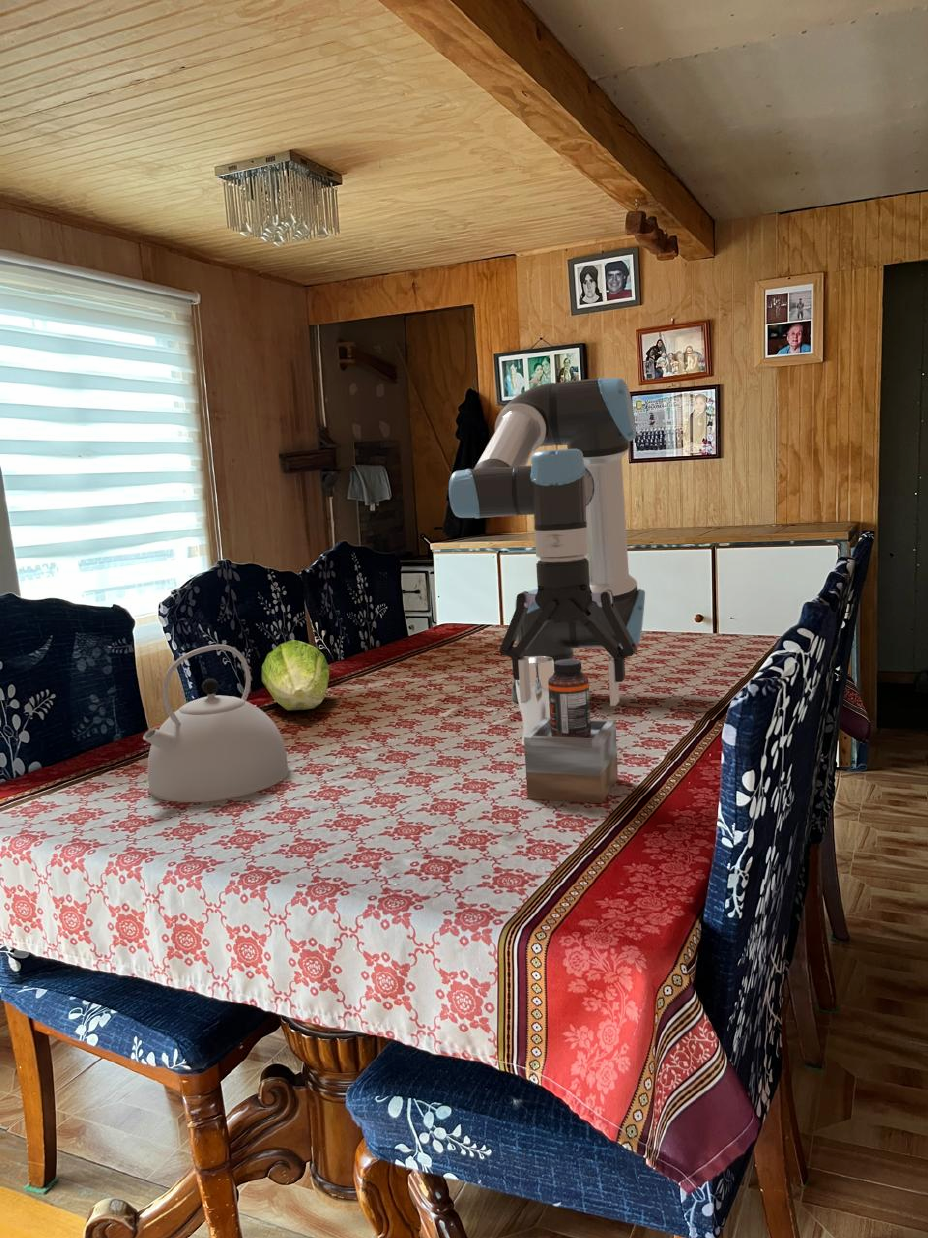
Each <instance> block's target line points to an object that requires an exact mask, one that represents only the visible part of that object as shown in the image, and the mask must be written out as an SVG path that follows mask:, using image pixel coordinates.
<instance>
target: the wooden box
mask: <svg viewBox="0 0 928 1238" xmlns="http://www.w3.org/2000/svg"><path fill="white" fill-rule="evenodd" d="M616 725H617V724H616V720H615V719H599V718H597V719H592V718H591V734H590V735H589V736H588V737H586V738H577V737H553V736H552V735H551V726H550V718H544V719H543V720H542V721H541V722H540V723H539V724H538V725H537V726H536V727H535V728H533V729H532V730H531V731H530V732H529V733H528V734H527V735H526V736H525V737H524V763H525V764H524V765H525V766H524V767H525V776H526V777H525V781H526V782H525V783H526V798H527V799H529V800H532V799H534V800H547V801H549V800H550V801H562V802H563V801H564V802H575V803H590V804H591V803H592V804H602V803H603V802H604V801H605V799H606V797H607V796H608V794H609V793H610V792H611V790H612V789H613V787H614V785H615V784H616V782H617V781H618V780H619V774H618V773H619V772H618V771H619V770H618V751H617V750H618V749H617V746H618V745H617V726H616Z"/></svg>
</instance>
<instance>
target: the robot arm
mask: <svg viewBox="0 0 928 1238" xmlns="http://www.w3.org/2000/svg"><path fill="white" fill-rule="evenodd" d="M630 392H631V391H630V389H629V386H628V384H627V383H626V381H625V380H624V379H622V378H619V377H603V378H602V377H599V378H590V379H589V378H588V379H579V380H570V381H563V382H549V383H548V382H547V383H544V384H543V383H542V384H540V385H536V386H534V387H531V388H529V389H527V390H525V391H523V392H522V393H520V394H518V395H516V396H515V397H514V398H513V399H512V400H510V401H509V402H508V403H507V404H506V405H505V406H504V407H503V408H502V409H501V410H500V412H499V414H498V415H497V417H496V420H495V423H494V433H493V435H492V436H491V439H490V440H489V442H488V443H487V445H486V447H485V450H484V451H483V453H482V454H481V456H480V458H479V460H478V461H477V463H476V464H475V467H473V468H466V469H462V470H456V471H454V472H453V473H452V474H451V476H450V479H449V481H448V498H449V503H450V508H451V511H452V513H453V515H454V516H455V517H458V518H461V519H465V518H466V519H473V518H474V519H476V520H477V519H481V518H494V517H495V518H496V517H497V518H498V517H499V518H500V517H512V516H513V517H514V516H529V515H530V516H532V515H533V520H534V522H533V523H534V525H533V526H534V542H535V543H534V544H535V556H536V558H539V560H538V561H537V562H536V582H537V588H535V589H532V590H528V591H526V590H524V591H522V592H520V593H518V594H517V595H516V598H515V603H514V604H515V611H514V613H513V615H512V617H511V620H510V623H509V625H508V627H507V630H506V633H505V635H504V637H503V640H502V642H501V645H500V647H499V650H498V651H499V654H500V655H502V656H507V657H509V658H510V659H511V661H512V678H513V683H512V686H511V700H512V701H513V702H515V703H517V704H519V702H518V698H517V692H516V680H520V697H521V703H526V702H528V701H529V700H530V699H531V689H530V672H529V656H548V657H552V658H553V662H555V661H557V660H563V659H574V658H575V657H574V649H595V648H596V649H599V648H600V649H601V648H602V649H604V650H605V651H606V652H607V653H608V654H609V655H610V656H611V658H610V659H609V660H608V663H607V665H608V668H607V669H608V683H609V684H608V689H609V706H610V707H616V706H617V705H618V703H619V702H620V688H619V687H620V684H619V683H621V682H623V681H624V680H625V677H626V666H625V665H626V664H625V660H626V658H629V657H633V656H634V654H636V652H637V651H638V647H637V645H638V644H639V643H640V642H641V638H642V631H643V624H644V623H643V622H644V611H645V603H646V601H645V600H646V592H645V590H644V589H641V588H639V589H638V582H637V580H636V579H635V578H634V577H633V576H631V575H630V573H629V556H628V540H627V527H626V525H627V522H626V507H625V490H624V477H623V476H624V475H623V460H622V459H623V457H625V455H626V454H627V453H628V452H629V450H630V442H632V441H634V440H635V439H636V438H637V425H636V417H635V411H634V405H633V401H632V396H631V393H630ZM549 446H567V448H563V449H550V450H539V451H536V450H538V449H539V448H540V447H549ZM533 452H534V453H533ZM529 460H530V464H531V465H527V464H528V462H529ZM515 642H516V646H515ZM514 646H515V647H514Z"/></svg>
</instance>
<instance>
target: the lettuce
mask: <svg viewBox="0 0 928 1238" xmlns="http://www.w3.org/2000/svg"><path fill="white" fill-rule="evenodd" d="M329 681H330V667H329V665H328V662H327V660H326V657H325V655H324V654H323V653H322V652H321V651H320V650H319V649H318V648H317V647H315V646H314V645H311V644H309V643H306V642H303V641H300V640H295V639H291V640H289V641H286V642H283V643H281V644H279V645H278V646H277V647H275V648H273V650H271V651H270V652H268V653H267V655H266V657H265V659H264V662H263V663H262V666H261V682H262V683H263V685H264V687H265V688H266V689H267V691H268V692H269V693H270V694H269V695H270V696H271V697H272V699H274V701H275V702H276V704H277V703H278V704H279V705H280V706H281V707H283V708H284V709H285V710H287V711H304V710H305V711H306V710H311V709H315V708H317V707H318V706H319V705H320V704H321V703H322V702H323V700H324V699H325V698H324V697H325V695H326V693H327V691H328V684H329Z"/></svg>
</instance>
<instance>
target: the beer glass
mask: <svg viewBox="0 0 928 1238" xmlns="http://www.w3.org/2000/svg"><path fill="white" fill-rule="evenodd" d="M529 672H530V689H531V699H530V700H529V701H528V702H526V703H521V697H520V680H516V692H517V698H518V702H519V703H518V706H519V710H520V714H521V718H522V727H523V728H522V738H521V745H522V746H524V737H525V736H526V735H527V734H528V733H529V732H530V731H531V730H532V729H533V728H535V727H536V726H537V725H538V724H539V723H540V722H541V721H542V720H543V719H544V718H550V707H549V690H548V680H549V678H550V677H551V676H553V674H554V662H553V658H552V657H548V656H529Z"/></svg>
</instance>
